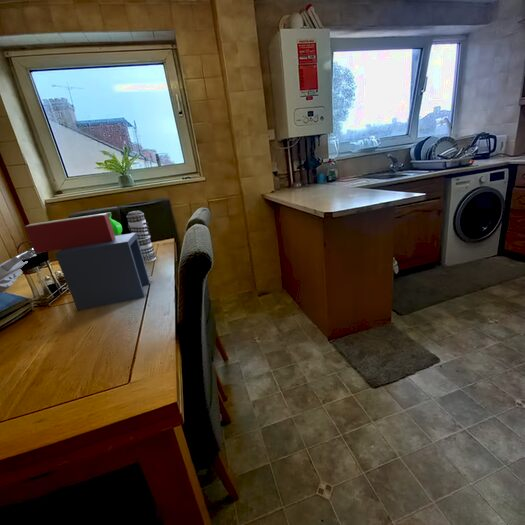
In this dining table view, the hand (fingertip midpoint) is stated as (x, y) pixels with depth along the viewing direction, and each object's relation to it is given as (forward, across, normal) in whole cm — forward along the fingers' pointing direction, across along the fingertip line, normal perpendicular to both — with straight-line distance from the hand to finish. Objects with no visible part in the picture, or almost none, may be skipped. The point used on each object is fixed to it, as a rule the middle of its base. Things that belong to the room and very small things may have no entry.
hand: (27, 253), depth 93 cm
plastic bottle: (-1, +52, +24) cm, 57 cm away
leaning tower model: (+13, +40, +32) cm, 53 cm away
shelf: (+9, 0, +30) cm, 31 cm away
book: (+13, 0, +8) cm, 15 cm away
